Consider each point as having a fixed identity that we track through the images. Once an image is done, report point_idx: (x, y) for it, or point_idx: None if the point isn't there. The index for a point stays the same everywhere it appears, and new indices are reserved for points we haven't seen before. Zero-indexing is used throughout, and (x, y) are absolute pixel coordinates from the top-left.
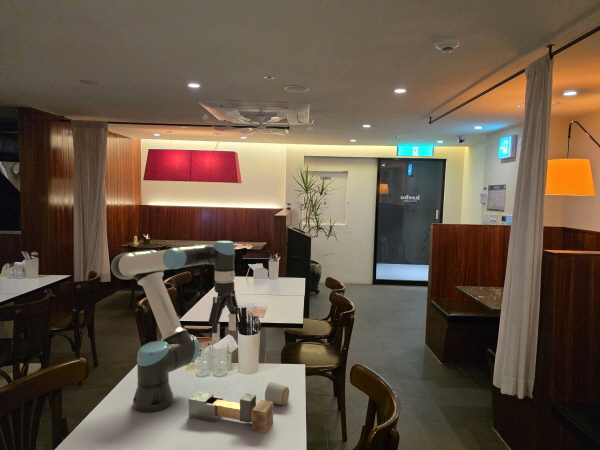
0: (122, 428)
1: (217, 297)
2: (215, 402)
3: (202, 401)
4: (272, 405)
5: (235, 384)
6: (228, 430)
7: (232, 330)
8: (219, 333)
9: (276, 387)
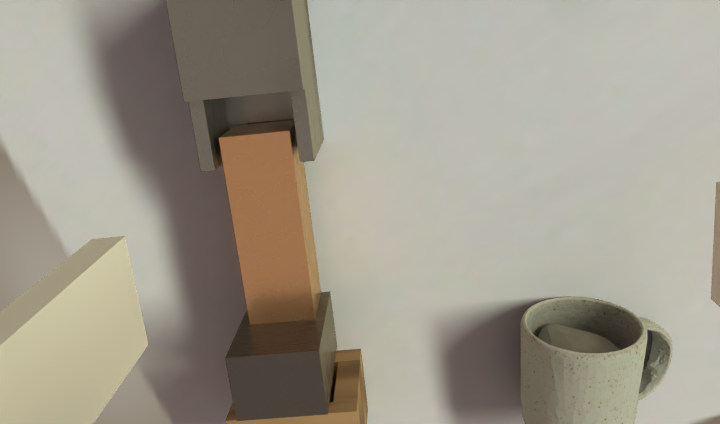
0: None
1: None
2: (249, 143)
3: (181, 83)
4: None
5: None
6: (201, 254)
7: (714, 255)
8: (97, 416)
9: (568, 408)
